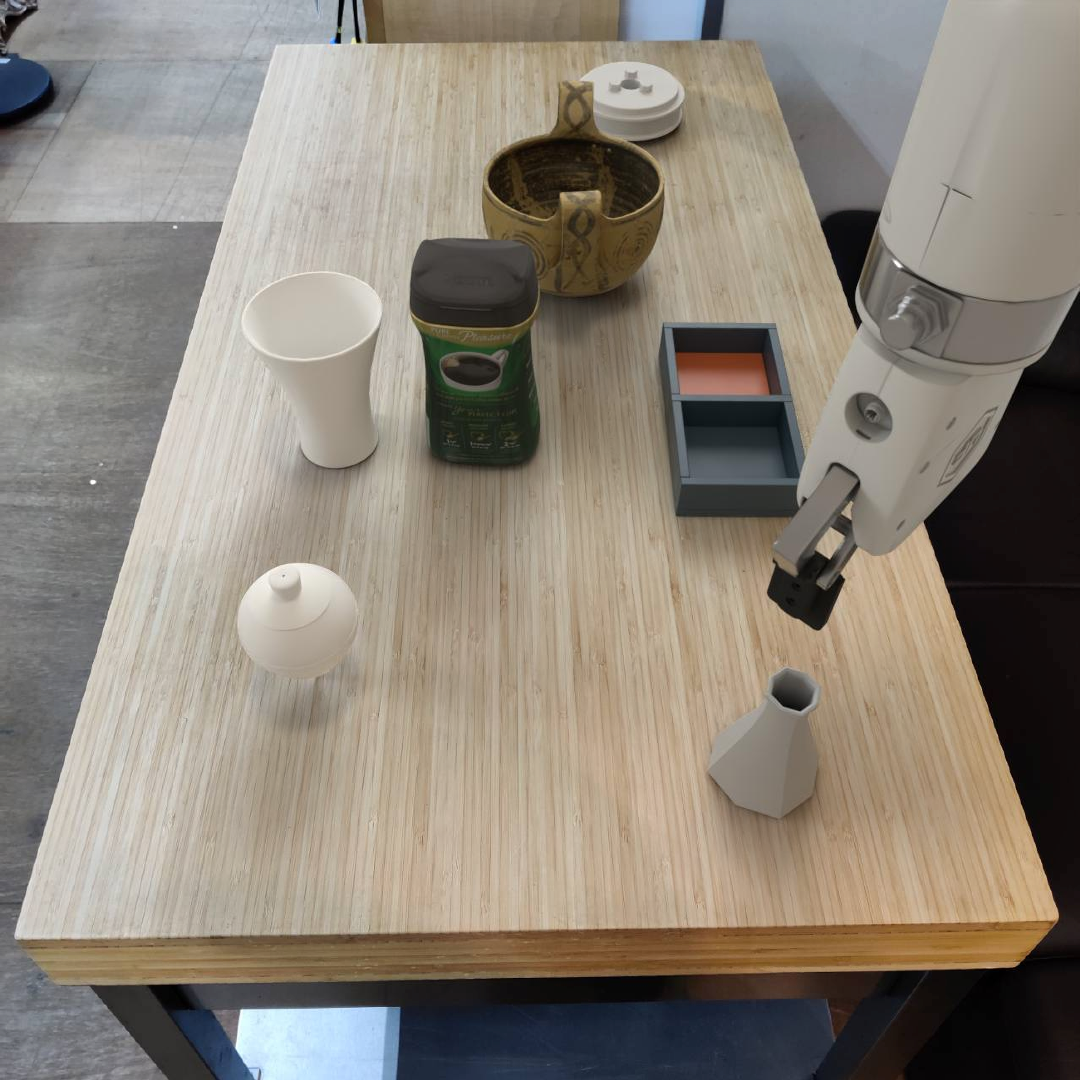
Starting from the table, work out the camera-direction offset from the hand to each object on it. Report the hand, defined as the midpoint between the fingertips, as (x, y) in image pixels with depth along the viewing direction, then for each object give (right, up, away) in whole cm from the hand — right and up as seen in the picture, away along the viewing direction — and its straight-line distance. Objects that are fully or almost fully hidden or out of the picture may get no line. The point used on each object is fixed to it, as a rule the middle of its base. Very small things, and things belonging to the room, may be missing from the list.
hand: (850, 554), depth 51 cm
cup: (-33, +9, +33) cm, 48 cm away
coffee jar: (-21, +9, +34) cm, 41 cm away
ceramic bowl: (-13, +27, +48) cm, 56 cm away
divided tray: (0, +10, +34) cm, 36 cm away
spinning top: (-32, -9, +19) cm, 38 cm away
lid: (-6, +50, +66) cm, 83 cm away
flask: (-1, -14, +15) cm, 21 cm away
